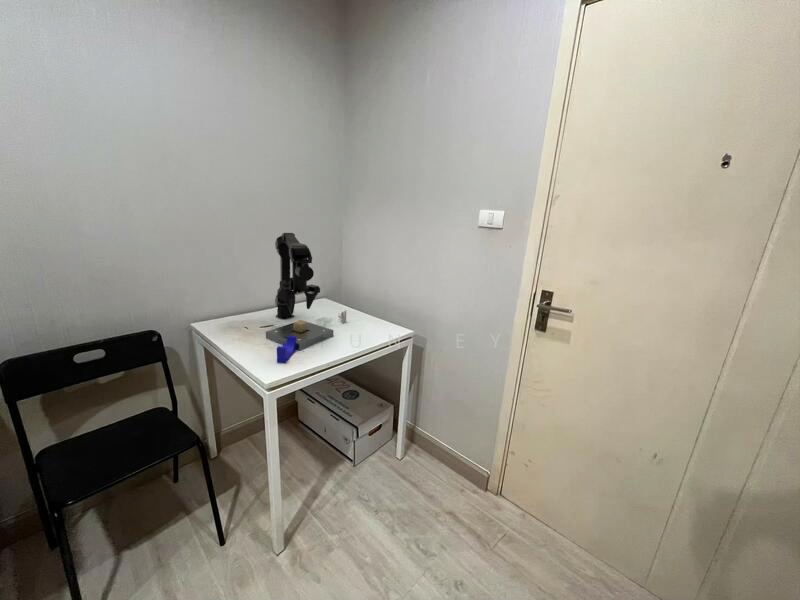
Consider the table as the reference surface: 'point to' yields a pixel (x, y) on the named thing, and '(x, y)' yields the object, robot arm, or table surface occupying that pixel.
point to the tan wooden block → (300, 327)
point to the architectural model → (342, 317)
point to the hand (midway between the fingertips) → (300, 311)
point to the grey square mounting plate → (300, 335)
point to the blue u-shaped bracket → (286, 350)
